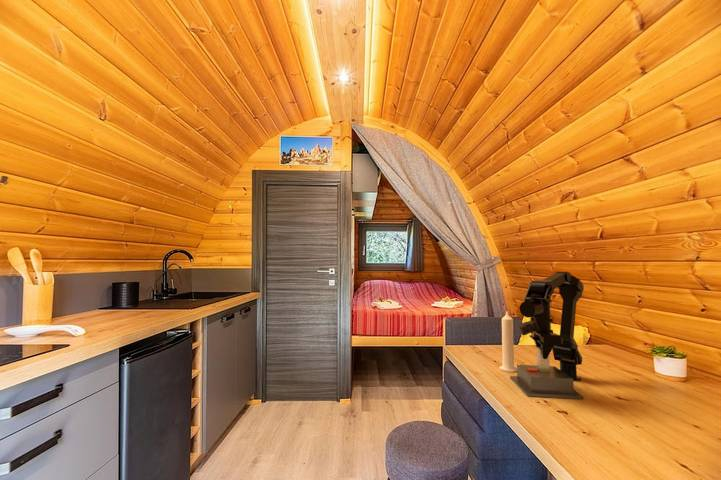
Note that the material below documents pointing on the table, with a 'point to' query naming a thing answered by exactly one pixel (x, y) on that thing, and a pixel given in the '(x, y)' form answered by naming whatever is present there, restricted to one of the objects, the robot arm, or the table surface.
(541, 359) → the post
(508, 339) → the candle
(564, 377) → the stand
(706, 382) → the table surface
